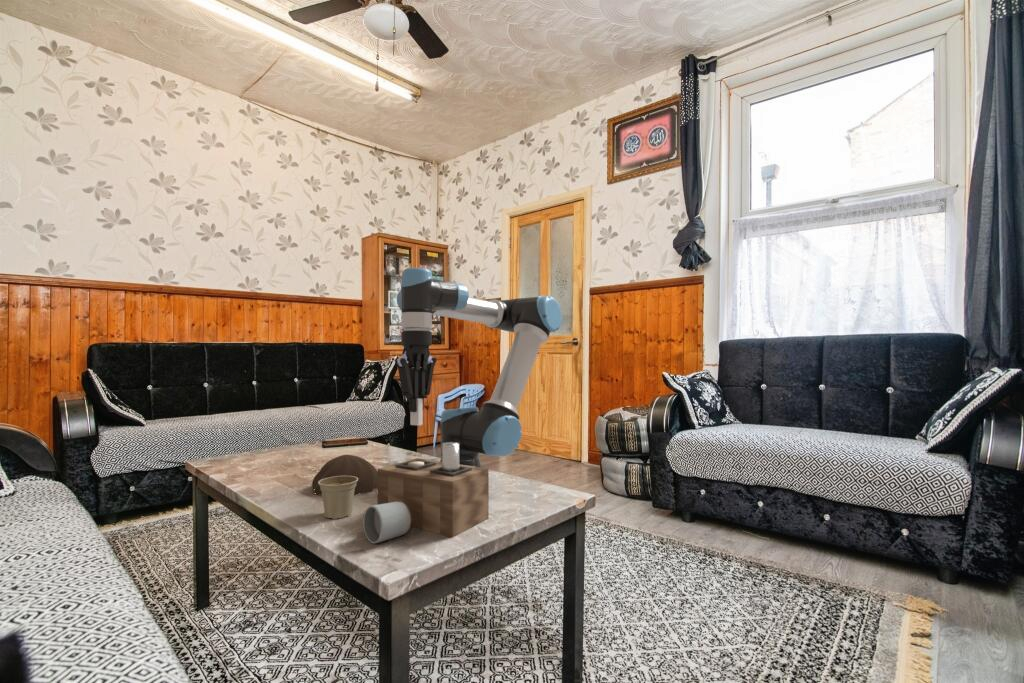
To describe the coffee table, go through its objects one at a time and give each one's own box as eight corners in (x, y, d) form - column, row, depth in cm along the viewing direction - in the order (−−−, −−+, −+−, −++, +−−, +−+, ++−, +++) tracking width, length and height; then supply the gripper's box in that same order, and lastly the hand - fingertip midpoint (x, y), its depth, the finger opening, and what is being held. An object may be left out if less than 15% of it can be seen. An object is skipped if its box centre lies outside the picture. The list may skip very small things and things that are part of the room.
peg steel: (449, 487, 117) (449, 441, 117) (462, 489, 115) (462, 443, 115) (438, 491, 113) (438, 444, 113) (452, 493, 111) (452, 445, 111)
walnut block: (417, 503, 128) (417, 455, 129) (488, 518, 117) (488, 466, 117) (377, 518, 116) (377, 466, 117) (452, 537, 105) (452, 478, 105)
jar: (447, 509, 123) (447, 462, 123) (438, 501, 130) (438, 456, 131) (480, 505, 127) (480, 459, 127) (469, 496, 134) (469, 453, 134)
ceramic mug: (414, 536, 105) (413, 501, 105) (381, 548, 99) (380, 510, 99) (387, 526, 112) (386, 492, 112) (354, 535, 106) (354, 500, 106)
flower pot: (314, 513, 121) (315, 478, 121) (353, 506, 126) (353, 473, 126) (321, 524, 113) (321, 487, 113) (362, 517, 118) (362, 481, 118)
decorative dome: (310, 501, 131) (310, 464, 132) (312, 483, 150) (313, 450, 150) (383, 493, 138) (383, 458, 139) (377, 477, 157) (377, 446, 157)
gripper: (422, 331, 128) (422, 420, 127) (386, 329, 117) (386, 427, 116) (444, 330, 124) (444, 422, 124) (409, 328, 113) (409, 429, 112)
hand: (416, 424), depth 120 cm, fingers closed
